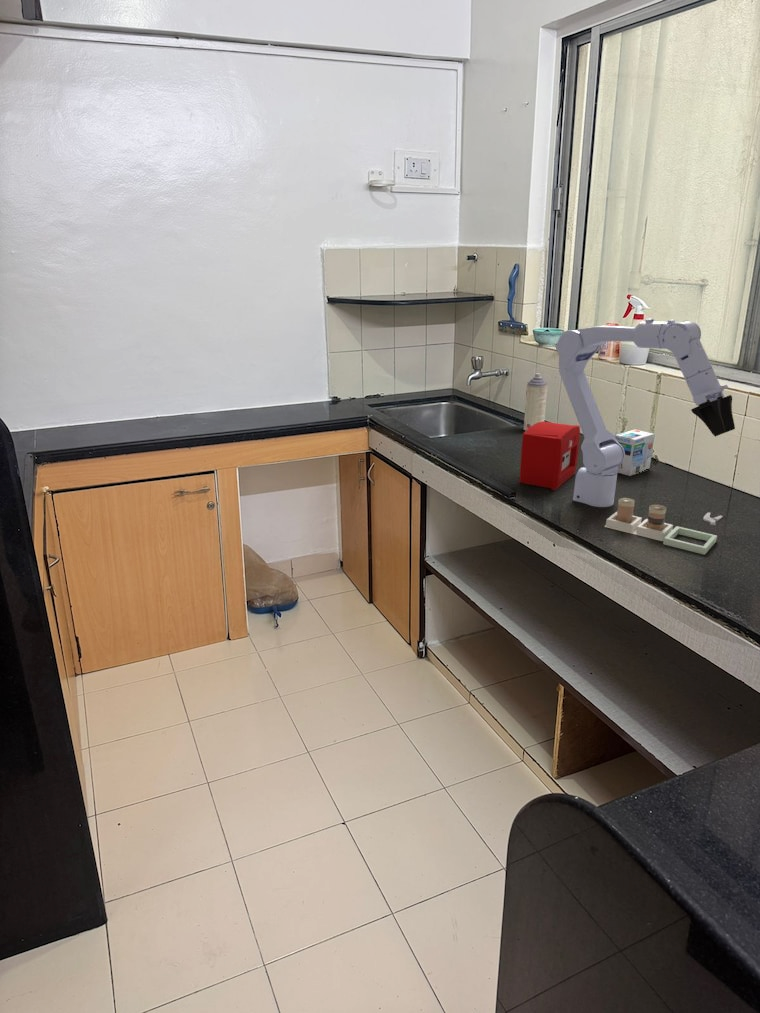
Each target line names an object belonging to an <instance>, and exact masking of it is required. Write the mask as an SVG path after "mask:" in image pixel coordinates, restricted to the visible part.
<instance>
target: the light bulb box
mask: <svg viewBox="0 0 760 1013" xmlns="http://www.w3.org/2000/svg"><path fill="white" fill-rule="evenodd" d="M614 435H615V437H616V440H617V441H618V443H619V444H620V445H621V446H622V447H623V448H624V451H625V458H624V461H623V462H622V463H621V464H620V465H619V467H618V472H617V474H622V475H625V476H628V477H632V476H634V475H636V474H640V473H642V471H643V472H645V471H644V470H646V469H649V468H651V462H652V456H653V455H652V454H653V450H654V449H653V447H654V441H655V435H656V434H655V433H653V432H649V431H643V430H639V429H632V430H628V431H624V432H621V433H617V434H614ZM649 470H650V469H649ZM646 471H647V470H646ZM639 472H640V473H639Z"/></svg>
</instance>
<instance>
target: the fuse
mask: <svg viewBox="0 0 760 1013" xmlns="http://www.w3.org/2000/svg"><path fill="white" fill-rule="evenodd" d="M635 502H636V500H635V499H633V498H629V497H620V498H618V503H617V510H616V512H617V518H616V520H617V521H621V522H625V523H629V524H631V523H632V517H633V516H634V509H635Z"/></svg>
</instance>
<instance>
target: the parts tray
mask: <svg viewBox="0 0 760 1013" xmlns="http://www.w3.org/2000/svg"><path fill="white" fill-rule="evenodd" d="M678 535H681V536H683V537H684V536H685V537H689V538H694V539H698V540H701V541H702V540H703V541H706V542H705V543H704V544H703V545H700V544H696V543H693V542H692V543H691V542H688V541H683V540H679V539H676V537H677V536H678ZM717 538H718V535H715V534H712V533H708V532H703V531H698V530H695V529H691V528H686V527H682V526H675V527H674V528H672V531H671V532H670V533H669V534H668V535H667V536H666V537H665V538H664V540H663V541H662V542H663V543H662V545H665V546H668V547H673V548H675V549H676V548H677V549H681V550H684V551H689V552H692V553H697V554H700V555H703V556H704V555H706V554H707V553H708V552H709V550H710V549H711V548H712V547H713V546H714V545H715V543H717Z"/></svg>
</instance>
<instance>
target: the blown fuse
mask: <svg viewBox="0 0 760 1013" xmlns="http://www.w3.org/2000/svg"><path fill="white" fill-rule="evenodd" d="M666 513H667V507H666V506H664V505H660V504H650V505H649V508H648V515H647V519H648V522H647V527H646V528H650V529H654V530H659V531H663V525H664V523H665V519H666Z"/></svg>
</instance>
